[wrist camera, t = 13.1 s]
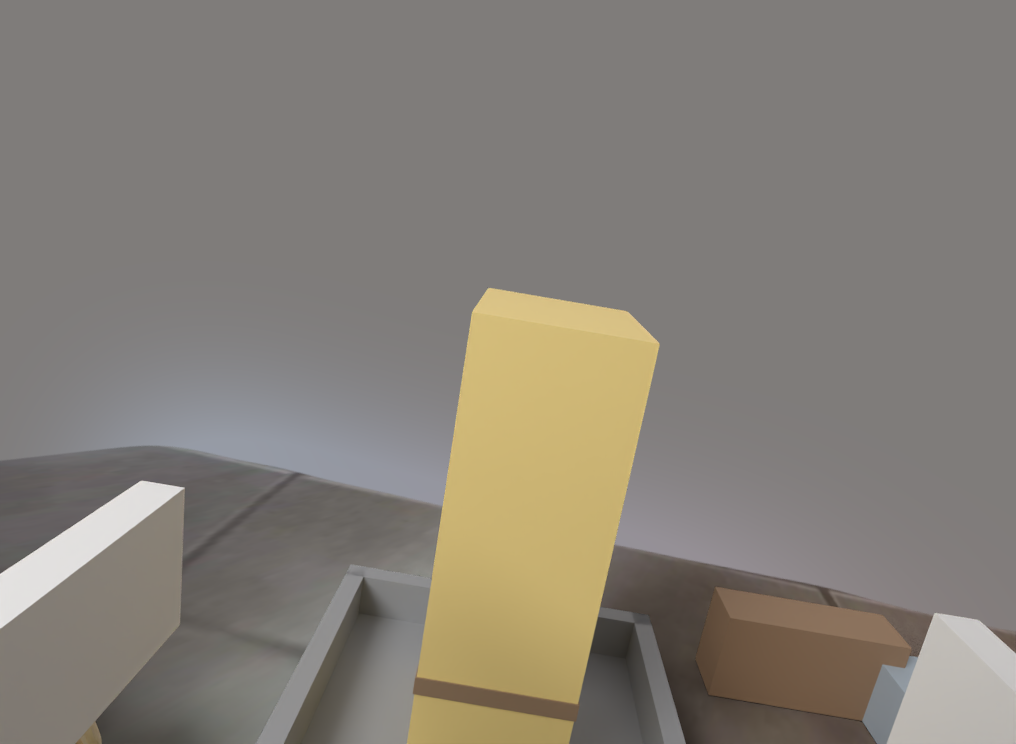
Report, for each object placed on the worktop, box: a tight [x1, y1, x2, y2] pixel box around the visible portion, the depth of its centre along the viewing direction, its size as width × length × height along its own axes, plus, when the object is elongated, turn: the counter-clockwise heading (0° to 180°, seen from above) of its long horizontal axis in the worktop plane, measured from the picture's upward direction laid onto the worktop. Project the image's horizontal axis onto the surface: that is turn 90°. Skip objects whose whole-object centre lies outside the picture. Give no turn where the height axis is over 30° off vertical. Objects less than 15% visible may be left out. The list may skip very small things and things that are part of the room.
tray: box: [256, 565, 686, 744], centre depth 23 cm, size 14×13×2 cm
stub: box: [407, 288, 660, 744], centre depth 21 cm, size 5×6×16 cm
